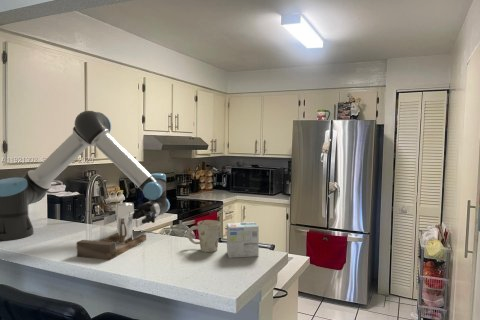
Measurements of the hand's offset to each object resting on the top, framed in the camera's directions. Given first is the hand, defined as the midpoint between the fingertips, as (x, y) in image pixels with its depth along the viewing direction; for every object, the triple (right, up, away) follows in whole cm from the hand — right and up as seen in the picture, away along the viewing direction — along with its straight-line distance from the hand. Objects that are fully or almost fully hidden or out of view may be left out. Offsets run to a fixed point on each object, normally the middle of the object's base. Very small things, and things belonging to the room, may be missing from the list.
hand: (120, 222), depth 135 cm
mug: (+32, -9, -5) cm, 34 cm away
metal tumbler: (+1, -9, +4) cm, 9 cm away
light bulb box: (+46, -10, -10) cm, 49 cm away
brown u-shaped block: (-1, -9, -4) cm, 9 cm away
